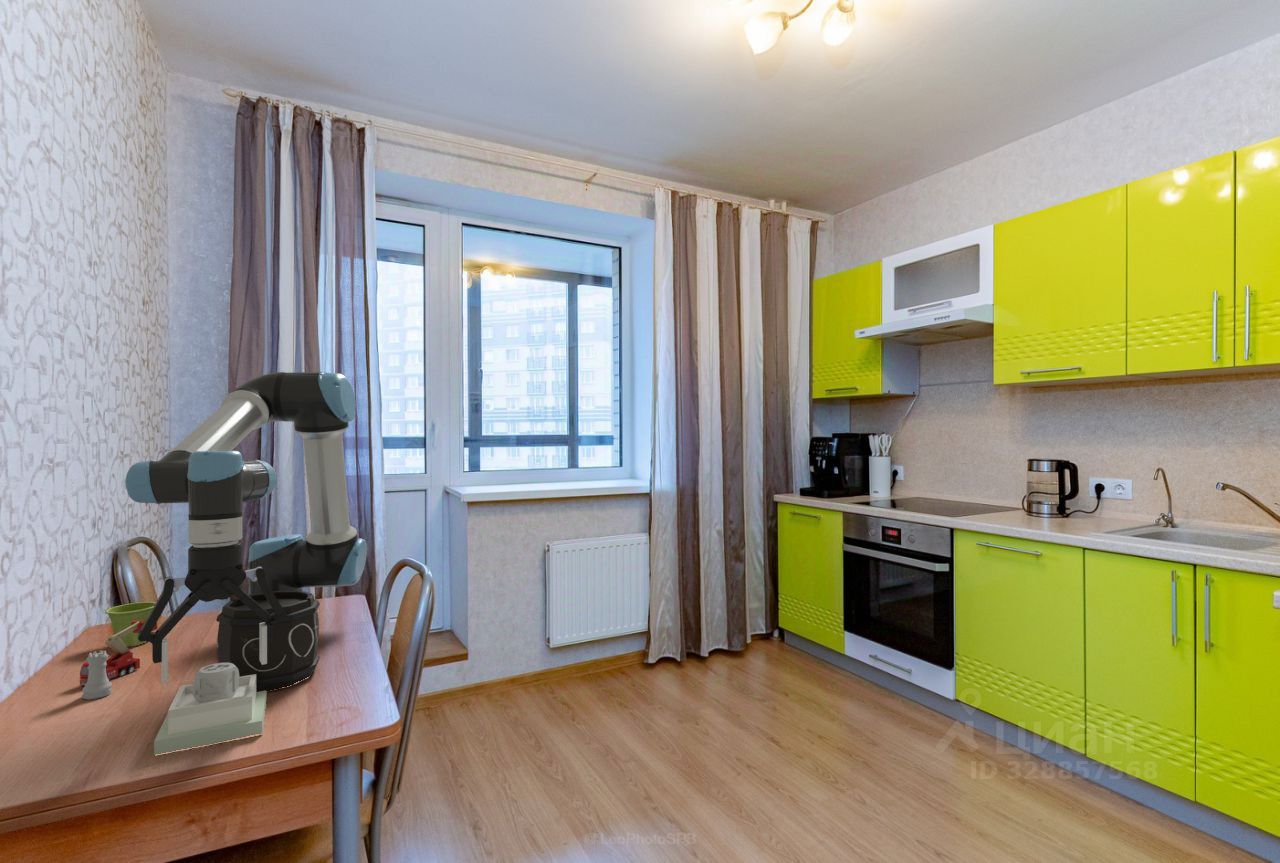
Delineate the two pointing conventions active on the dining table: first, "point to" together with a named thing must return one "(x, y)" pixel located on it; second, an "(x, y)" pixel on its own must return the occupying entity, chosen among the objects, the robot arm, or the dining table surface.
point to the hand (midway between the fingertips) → (215, 671)
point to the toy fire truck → (118, 655)
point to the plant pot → (129, 619)
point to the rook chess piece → (97, 677)
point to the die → (215, 682)
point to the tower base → (211, 731)
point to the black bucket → (289, 649)
